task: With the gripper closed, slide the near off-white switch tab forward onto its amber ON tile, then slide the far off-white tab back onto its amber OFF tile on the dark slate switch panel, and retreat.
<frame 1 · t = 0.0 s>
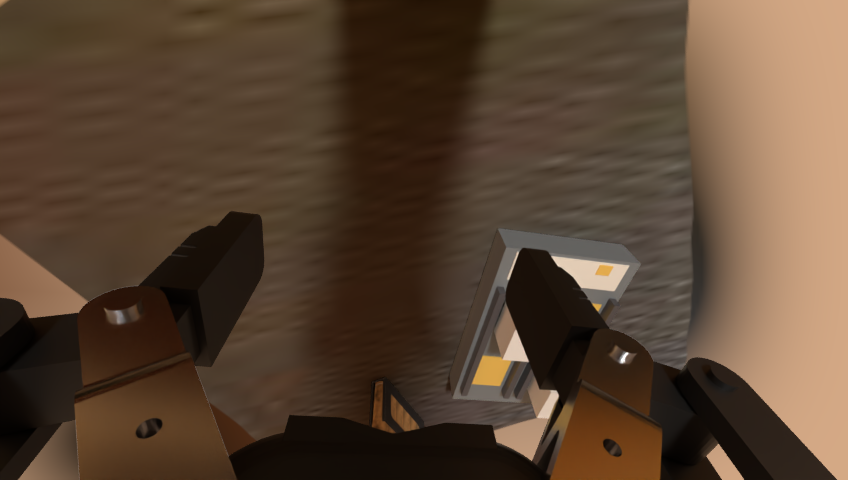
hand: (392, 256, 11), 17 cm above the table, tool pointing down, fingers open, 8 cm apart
switch b: (552, 391, 36), point 5 cm above the table, slide at 8.0 cm
switch panel: (525, 317, 37), on the table
switch a: (520, 330, 31), point 5 cm above the table, slide at 0.0 cm
ammunition clip: (399, 401, 44), on the table
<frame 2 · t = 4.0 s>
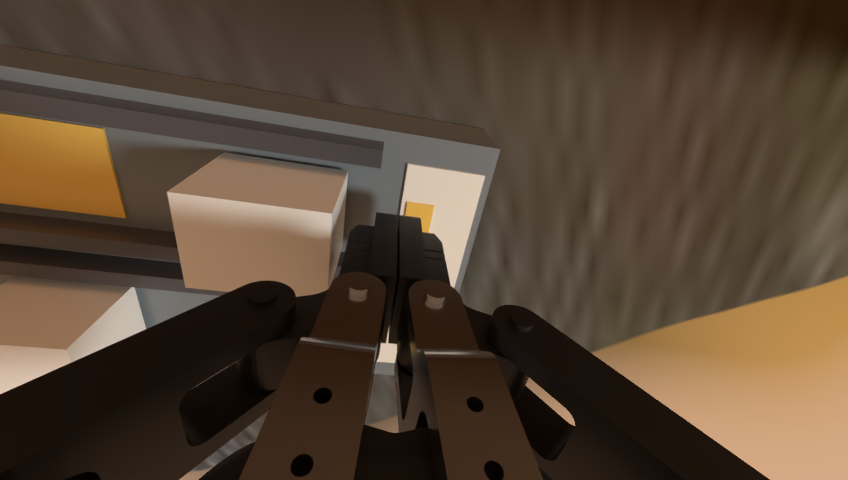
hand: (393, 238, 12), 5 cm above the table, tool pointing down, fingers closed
switch b: (54, 339, 13), point 5 cm above the table, slide at 8.0 cm
switch panel: (243, 222, 17), on the table
switch a: (273, 224, 11), point 5 cm above the table, slide at 0.1 cm, touching gripper
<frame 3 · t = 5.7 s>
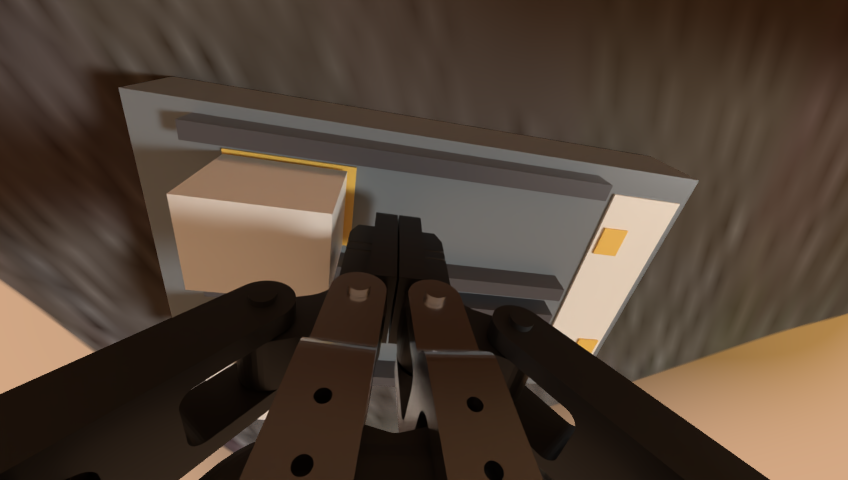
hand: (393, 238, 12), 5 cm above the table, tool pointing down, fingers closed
switch b: (280, 357, 14), point 5 cm above the table, slide at 8.0 cm
switch panel: (412, 243, 18), on the table
switch a: (273, 225, 11), point 5 cm above the table, slide at 8.1 cm, touching gripper
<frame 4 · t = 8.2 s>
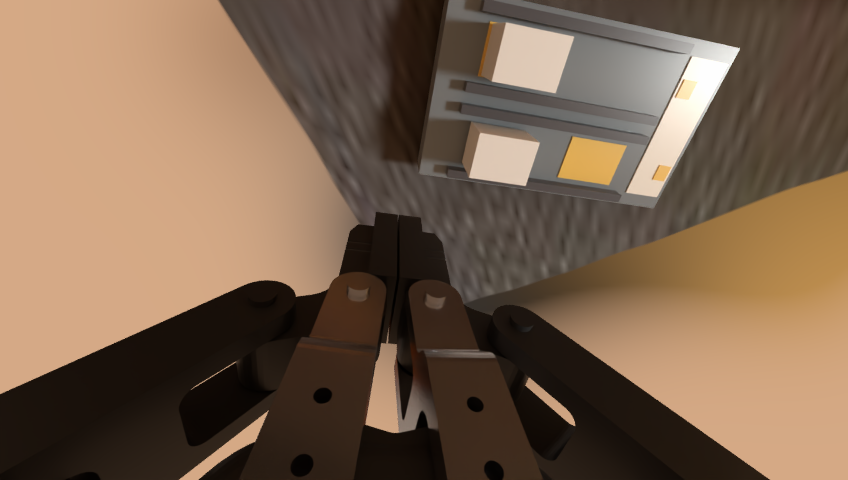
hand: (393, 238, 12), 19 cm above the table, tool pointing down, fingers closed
switch b: (497, 153, 25), point 5 cm above the table, slide at 8.0 cm
switch panel: (554, 107, 28), on the table
switch a: (523, 57, 22), point 5 cm above the table, slide at 8.1 cm
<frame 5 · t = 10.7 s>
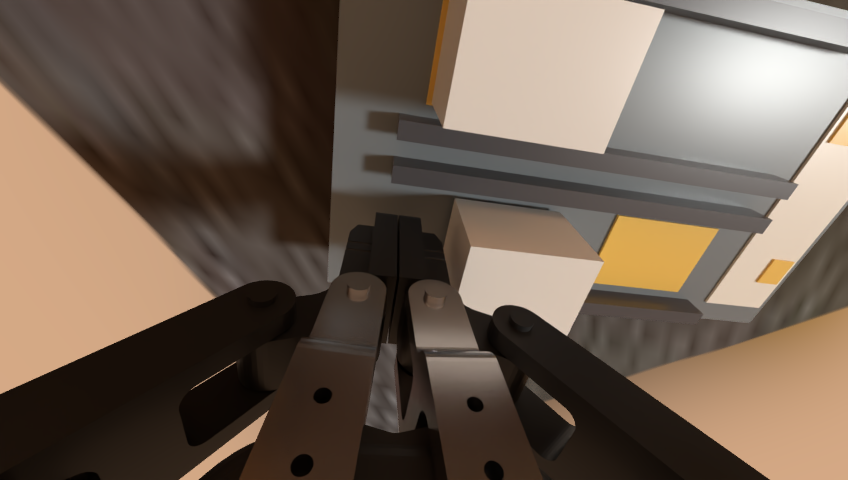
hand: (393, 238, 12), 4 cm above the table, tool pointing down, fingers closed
switch b: (508, 264, 12), point 5 cm above the table, slide at 6.7 cm, touching gripper
switch panel: (578, 153, 16), on the table
switch a: (524, 66, 9), point 5 cm above the table, slide at 8.1 cm
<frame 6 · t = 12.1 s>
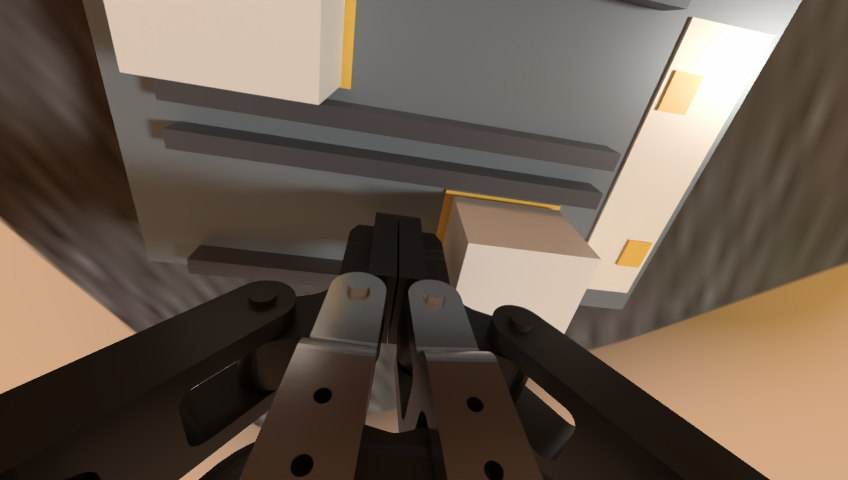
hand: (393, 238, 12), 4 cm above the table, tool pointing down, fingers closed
switch b: (507, 262, 12), point 5 cm above the table, slide at -0.1 cm, touching gripper
switch panel: (426, 126, 15), on the table
switch a: (246, 10, 8), point 5 cm above the table, slide at 8.1 cm
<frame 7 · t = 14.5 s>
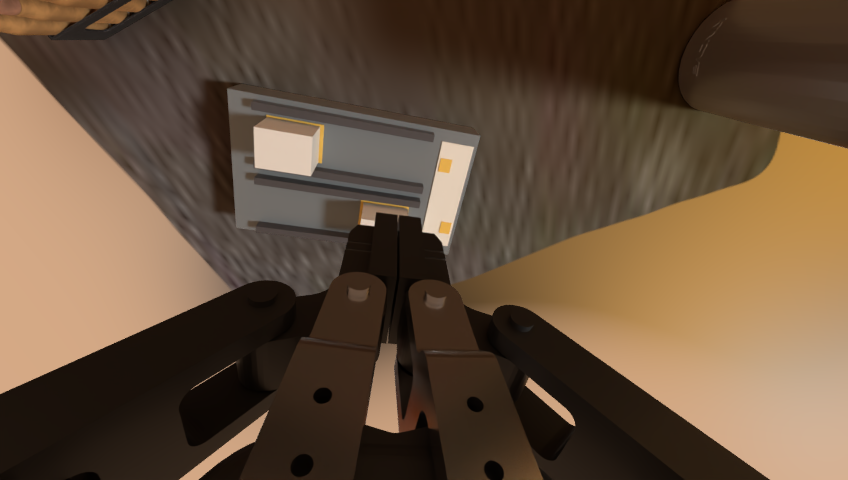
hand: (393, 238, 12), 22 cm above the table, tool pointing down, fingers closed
switch b: (383, 228, 32), point 5 cm above the table, slide at -0.1 cm
switch panel: (356, 172, 34), on the table
switch a: (288, 146, 27), point 5 cm above the table, slide at 8.1 cm
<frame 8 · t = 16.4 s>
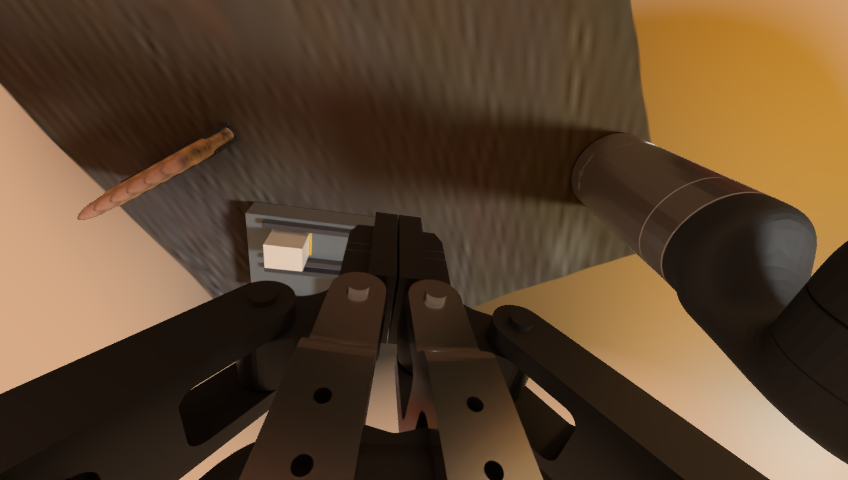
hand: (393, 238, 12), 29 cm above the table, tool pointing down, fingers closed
switch panel: (338, 254, 46), on the table
switch a: (287, 250, 40), point 5 cm above the table, slide at 8.1 cm
ammunition clip: (195, 151, 39), on the table
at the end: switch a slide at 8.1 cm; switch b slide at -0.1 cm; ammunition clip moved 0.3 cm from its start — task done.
